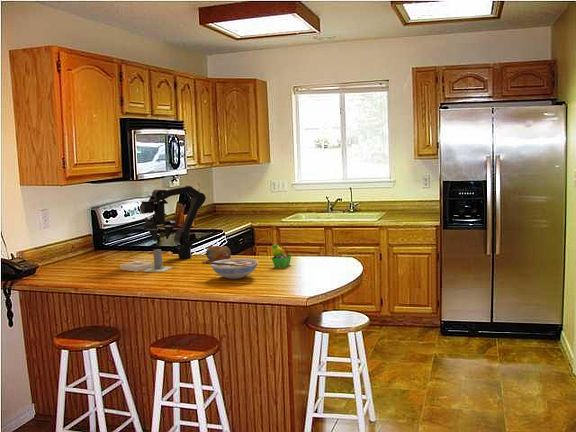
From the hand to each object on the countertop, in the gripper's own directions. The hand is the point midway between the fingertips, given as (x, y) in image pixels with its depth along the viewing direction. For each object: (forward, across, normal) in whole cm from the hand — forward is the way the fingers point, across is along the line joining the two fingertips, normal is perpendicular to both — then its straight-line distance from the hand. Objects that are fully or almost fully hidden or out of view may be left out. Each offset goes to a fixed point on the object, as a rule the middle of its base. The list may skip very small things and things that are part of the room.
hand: (160, 240), depth 348 cm
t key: (+12, +18, +16) cm, 27 cm away
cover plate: (+12, +20, +2) cm, 23 cm away
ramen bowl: (+12, +16, +66) cm, 69 cm away
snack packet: (+12, -15, +29) cm, 35 cm away
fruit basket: (+12, -17, +69) cm, 73 cm away
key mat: (+12, +18, +16) cm, 27 cm away
